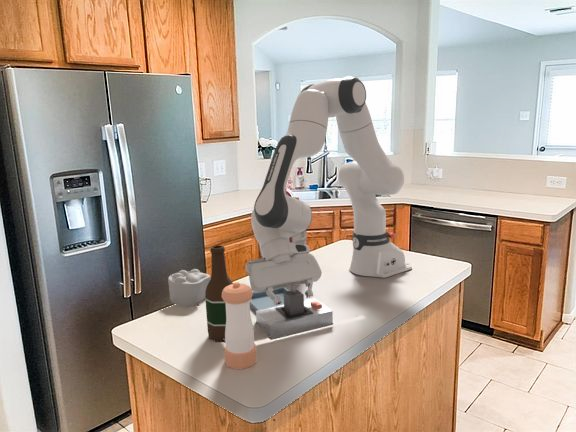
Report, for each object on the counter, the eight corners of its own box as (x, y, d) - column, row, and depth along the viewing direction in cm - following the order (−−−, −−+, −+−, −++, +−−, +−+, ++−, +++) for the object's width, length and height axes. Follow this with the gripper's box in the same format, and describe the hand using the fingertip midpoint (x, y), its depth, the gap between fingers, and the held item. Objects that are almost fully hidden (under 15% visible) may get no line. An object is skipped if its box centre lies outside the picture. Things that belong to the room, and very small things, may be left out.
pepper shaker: (248, 371, 102) (243, 289, 98) (219, 365, 104) (213, 286, 100) (261, 355, 108) (258, 278, 104) (234, 350, 111) (229, 275, 107)
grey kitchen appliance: (315, 311, 132) (314, 295, 131) (332, 324, 123) (332, 308, 122) (256, 324, 125) (255, 308, 124) (270, 340, 116) (270, 322, 115)
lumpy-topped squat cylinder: (196, 308, 137) (194, 280, 135) (161, 302, 143) (159, 275, 141) (215, 295, 146) (213, 269, 144) (182, 290, 152) (180, 265, 150)
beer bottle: (205, 332, 121) (198, 244, 116) (234, 326, 124) (229, 241, 119) (211, 345, 114) (204, 252, 109) (241, 339, 117) (236, 248, 111)
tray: (284, 293, 146) (284, 285, 146) (304, 308, 134) (303, 300, 133) (242, 301, 141) (242, 294, 140) (259, 318, 128) (258, 310, 128)
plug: (297, 316, 126) (296, 281, 124) (304, 322, 123) (303, 285, 120) (284, 320, 125) (283, 283, 122) (290, 325, 121) (289, 288, 119)
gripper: (245, 255, 122) (260, 303, 115) (313, 244, 130) (331, 288, 124) (241, 267, 127) (255, 313, 120) (306, 255, 135) (323, 298, 129)
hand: (294, 300), depth 122 cm, fingers open, 8 cm apart
